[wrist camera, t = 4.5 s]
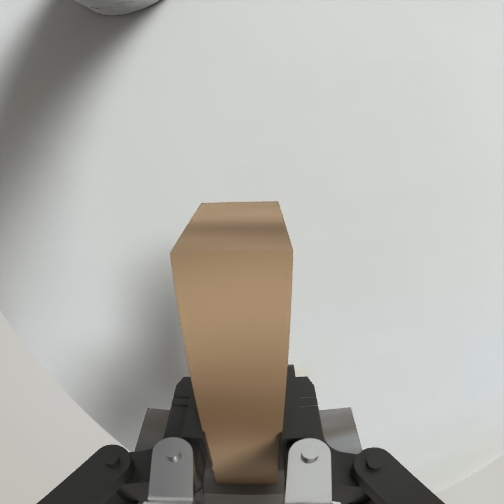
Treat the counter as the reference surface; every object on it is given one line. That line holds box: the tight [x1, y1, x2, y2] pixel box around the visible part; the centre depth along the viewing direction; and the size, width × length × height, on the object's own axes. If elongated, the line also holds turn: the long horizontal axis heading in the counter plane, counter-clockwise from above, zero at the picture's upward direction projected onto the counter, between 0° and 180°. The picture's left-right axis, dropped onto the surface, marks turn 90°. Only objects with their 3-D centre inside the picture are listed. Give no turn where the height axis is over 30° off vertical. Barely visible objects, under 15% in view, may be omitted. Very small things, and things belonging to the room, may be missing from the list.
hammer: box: [135, 202, 362, 504], centre depth 10 cm, size 12×10×4 cm
